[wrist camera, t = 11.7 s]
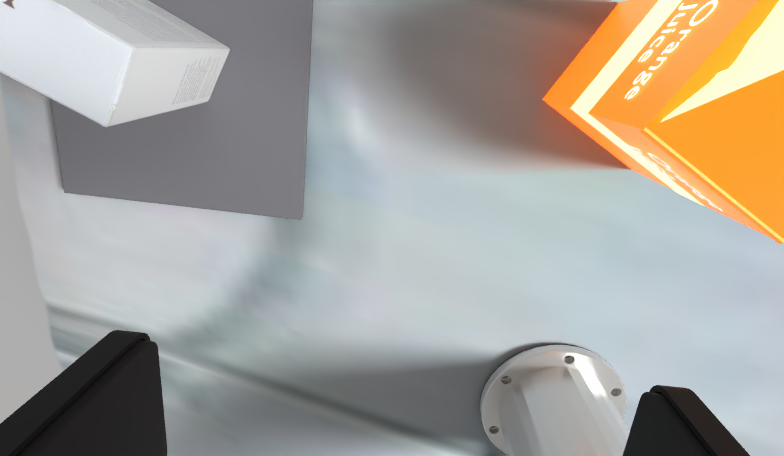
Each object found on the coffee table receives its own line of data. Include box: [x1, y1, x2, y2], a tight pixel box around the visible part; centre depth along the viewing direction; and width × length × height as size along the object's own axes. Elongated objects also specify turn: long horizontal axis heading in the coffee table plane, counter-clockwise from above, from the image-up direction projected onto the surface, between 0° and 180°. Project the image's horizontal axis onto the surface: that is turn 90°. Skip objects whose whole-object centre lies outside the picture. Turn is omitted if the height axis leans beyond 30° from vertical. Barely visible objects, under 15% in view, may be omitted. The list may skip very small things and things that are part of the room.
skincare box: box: [0, 0, 230, 127], centre depth 25 cm, size 6×4×12 cm
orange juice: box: [542, 0, 784, 244], centre depth 22 cm, size 8×9×20 cm
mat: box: [51, 0, 313, 220], centre depth 31 cm, size 22×18×1 cm
